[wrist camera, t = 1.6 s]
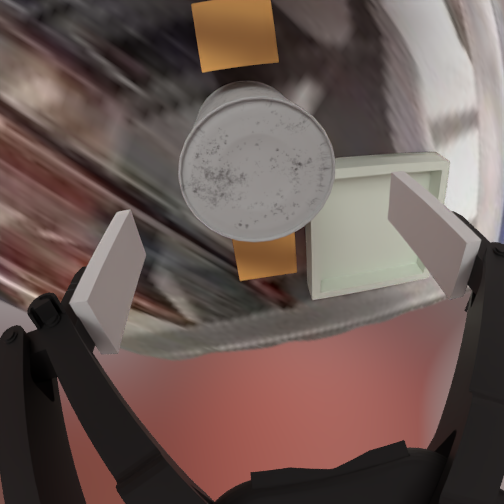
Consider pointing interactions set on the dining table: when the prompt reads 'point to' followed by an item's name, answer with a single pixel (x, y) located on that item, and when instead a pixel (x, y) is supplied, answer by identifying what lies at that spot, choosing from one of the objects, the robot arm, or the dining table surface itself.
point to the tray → (367, 225)
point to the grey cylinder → (255, 164)
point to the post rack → (236, 55)
